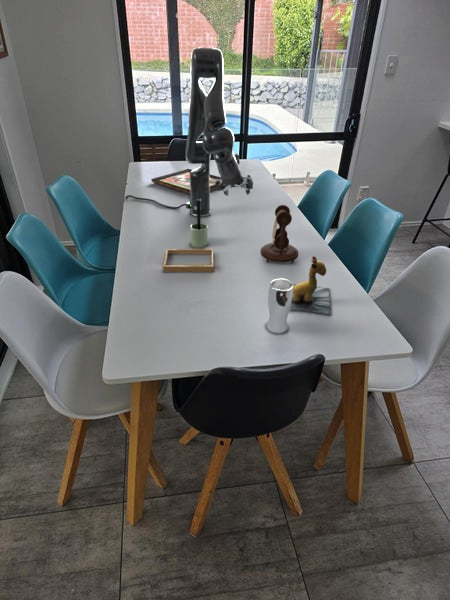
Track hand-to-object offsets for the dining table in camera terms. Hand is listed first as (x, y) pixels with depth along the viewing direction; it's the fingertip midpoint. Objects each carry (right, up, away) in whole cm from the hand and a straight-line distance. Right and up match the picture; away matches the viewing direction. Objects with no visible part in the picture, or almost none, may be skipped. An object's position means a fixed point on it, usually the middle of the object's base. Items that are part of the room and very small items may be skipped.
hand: (237, 193), depth 163 cm
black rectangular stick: (-16, -20, +3) cm, 26 cm away
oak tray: (-19, -29, -11) cm, 37 cm away
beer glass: (+10, -52, -43) cm, 69 cm away
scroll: (+16, -27, -5) cm, 32 cm away
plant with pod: (-1, +36, +88) cm, 95 cm away
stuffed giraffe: (+20, -43, -30) cm, 57 cm away
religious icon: (-25, +24, +70) cm, 78 cm away
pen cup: (-16, -21, +3) cm, 26 cm away
